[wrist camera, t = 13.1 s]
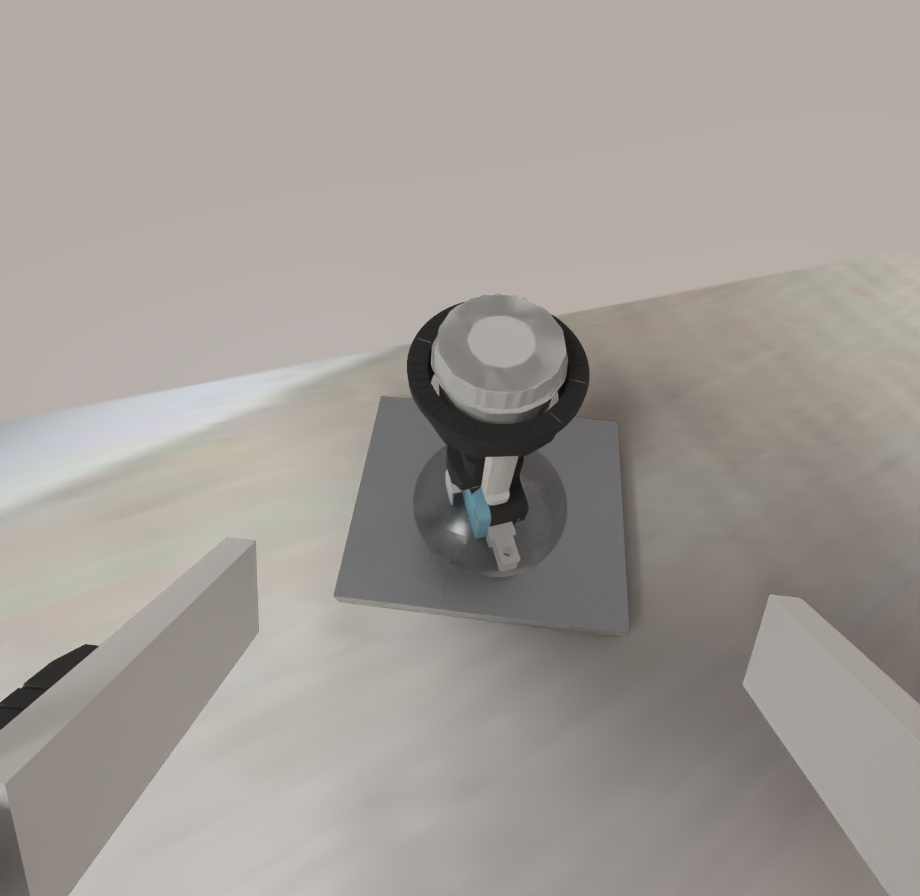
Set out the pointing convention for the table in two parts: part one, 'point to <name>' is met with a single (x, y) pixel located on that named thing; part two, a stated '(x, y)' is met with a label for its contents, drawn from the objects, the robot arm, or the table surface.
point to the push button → (496, 402)
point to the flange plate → (471, 560)
